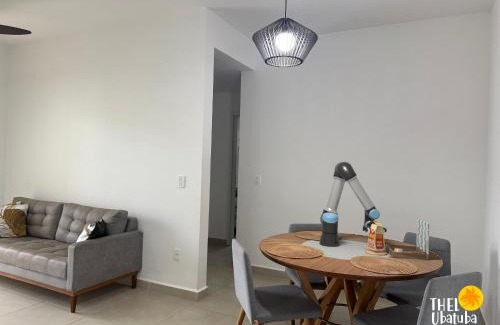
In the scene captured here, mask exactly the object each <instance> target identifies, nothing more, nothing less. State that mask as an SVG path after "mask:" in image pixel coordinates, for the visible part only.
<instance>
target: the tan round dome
mask: <svg viewBox="0 0 500 325" xmlns="http://www.w3.org/2000/svg"><path fill="white" fill-rule="evenodd" d="M364 253H365V254H369V255H373V256H387V255H388V252H387V250H378V251H375V250H372V249H369V248H365V249H364Z"/></svg>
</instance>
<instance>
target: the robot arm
mask: <svg viewBox="0 0 500 325" xmlns="http://www.w3.org/2000/svg"><path fill="white" fill-rule="evenodd" d="M332 177H333V183H332V186H331V190H330V193H329V196H328V199H327V202H326V203H327V204H326V206H325V207H324V208H323V210H322V213H321V215H320V217H319V221H320V223H321V236H320V239H319V245H321V246H324V247H331V248H332V247H334V248H335V247H340V245H341V242H340V238H339V235H338V234H339V227H338V226H339V214H338V211H337V210H338V208H339V205H340V204H339V203H340V200H341V197H342V194H343V190H344V187H345V184H346V183H348V185H349V187H350V188H351V190H352V191H353V193H354V194H355V196H356V198H357V200H358V201H359V203H360V204H361V206H362V207H363V209H364V220H363V225H362V231H363V232H365V233H368V234H369V233H370V229H371V225H372V223H373V222H374V221H376V220H378V219H379V218H380V215H381V213H380V211H379V210H378V209H377V208H376V206H375V205H374V203H373V201H372V200H371V198H370V196H369V195H368V193H367V192H366V190H365V188H364V187H363V186H362V183H361V182H360V181H359V179H358V176H357V173H356V171H355V170H354V168H353V166H352V165H351V163H350V162H347V161H342V162H341V161H340V162H338V163H337V164H336V165H335V167H334V172H333V175H332ZM387 230H388V228H386V227H384V226H383V232H384V233H387Z"/></svg>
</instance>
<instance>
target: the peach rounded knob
mask: <svg viewBox="0 0 500 325" xmlns="http://www.w3.org/2000/svg"><path fill="white" fill-rule="evenodd" d="M393 251H394V252H402V253H403V250H402V249H400V248H394V250H393Z"/></svg>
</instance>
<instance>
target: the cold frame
mask: <svg viewBox="0 0 500 325" xmlns="http://www.w3.org/2000/svg"><path fill="white" fill-rule="evenodd" d="M429 240H430V223H429V222H427V221H424V220H422V219H420V218H416V245H415V246H414V245H401V244H389V243H385V251H386V252H387V254H389V255H390V256H391V258H396V259H407V260H408V259H409V260H419V261H420V260H421V261H424V260H425V261H428V260H429V251H430V250H429V248H430V247H429V245H430V244H429V243H430V242H429ZM394 248H400V249H402V252H394V250H392V249H394ZM403 250H409V251H408V252H403ZM413 252H414V253H413Z"/></svg>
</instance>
